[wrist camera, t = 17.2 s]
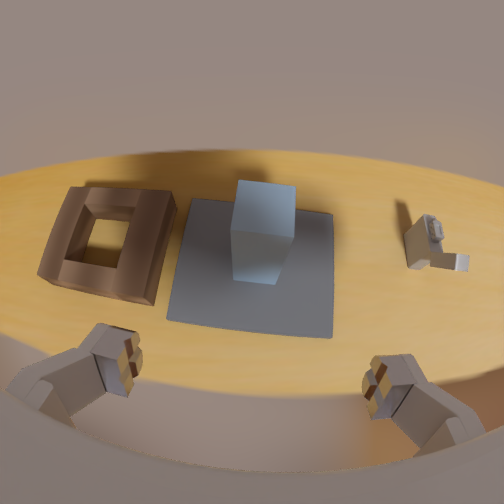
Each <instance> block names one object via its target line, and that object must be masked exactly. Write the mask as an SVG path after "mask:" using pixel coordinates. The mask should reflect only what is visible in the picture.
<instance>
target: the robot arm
mask: <svg viewBox="0 0 504 504" xmlns="http://www.w3.org/2000/svg"><path fill="white" fill-rule="evenodd" d="M139 342H140V337H139V333H137V332H136V331H132V330H128V329H124V328H120V327H116V326H111V325H107V324H104V323H98V324H97V325H96V326H95V327H94V328H93V329H92V331H91V332H90V333H89V334H88V336H87V337H86V338H85V339H84V341H83V342H82V343H81V344H80V346H79V347H78V348H77V349H76V348H72V349H70V350H67V351H65V352H62V353H60V354H57V355H55V356H52V357H50V358H47V359H45V360H42V361H40V362H37V363H35V364H32V365H30V366H27V367H25V368H22V370H21V371H20V372H19V373H18V374H17V376H16V377H15V378H14V379H13V381H12V382H11V383H10V384H9V386H8V387H7V388H6V389H5V390H3V389H2V388H0V504H504V425H503V426H501V427H499V428H496V429H495V430H492V431H490V432H488V433H486V431H485V430H484V427H483V426H482V424H481V422H480V420H479V418H478V417H477V414H476V413H475V411H474V410H473V409H471V408H470V407H468V406H467V405H465V404H464V403H462V402H460V401H459V400H458V399H456V398H455V397H453V396H451V395H450V394H448V393H447V392H445V391H444V390H442V389H441V388H439V387H438V386H436V385H435V384H433V383H432V382H430V383H428V381H427V379H426V377H425V376H424V374H423V372H422V370H421V368H420V367H419V365H418V363H417V361H416V360H415V358H414V356H413V355H411V354H400V355H377V356H374V357H373V358H372V360H371V362H370V365H371V369H370V370H369V371H367V372H366V373H365V375H364V378H363V381H362V392H363V396H364V397H365V398H366V399H367V400H368V401H369V402H368V404H367V408H368V412H369V415H370V418H371V420H375V419H386V418H391V419H392V420H393V422H394V423H396V425H397V426H399V428H400V429H401V430H402V431H403V432H404V433H405V434H406V435H407V436H408V437H409V438H410V439H411V440H412V441H413V442H414V443H415V444H416V445H417V446H418V447H420V450H419V451H418V452H417V453H416V454H415V455H414V456H413V458H409V459H405V460H401V461H396V462H391V463H386V464H380V465H375V466H368V467H361V468H354V469H345V470H334V471H320V472H259V471H245V470H234V469H225V468H216V467H210V466H203V465H197V464H191V463H186V462H181V461H176V460H172V459H167V458H163V457H159V456H155V455H150V454H147V453H143V452H140V451H136V450H133V449H130V448H126V447H123V446H120V445H117V444H114V443H111V442H108V441H106V440H103V439H100V438H98V437H95V436H93V435H90V434H87V433H85V432H82V431H80V430H78V429H77V428H76V426H75V425H74V423H73V421H72V420H71V418H70V416H72V415H74V414H75V413H77V412H78V411H80V410H81V409H83V408H84V407H86V406H87V405H88V404H90V403H92V402H93V401H95V400H96V399H98V398H99V397H101V396H102V395H104V394H105V393H106V392H109V393H113V394H116V395H120V396H123V397H128V396H129V393H130V392H131V390H132V387H133V385H134V382H133V378H135V377H136V376H138V375H139V373H140V371H141V367H142V363H143V355H142V350H141V349H140V348H139V347H138V344H139Z"/></svg>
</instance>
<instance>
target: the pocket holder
mask: <svg viewBox="0 0 504 504" xmlns="http://www.w3.org/2000/svg"><path fill="white" fill-rule="evenodd" d="M176 211H177V207H176V204H175V201H174V198H173V195H172V192H171V191H162V190H146V189H128V188H104V187H70V189H69V191H68V193H67V195H66V197H65V200H64V202H63V204H62V206H61V209H60V211H59V214H58V216H57V218H56V221H55V223H54V226H53V228H52V231H51V234H50V236H49V239H48V242H47V245H46V247H45V250H44V253H43V256H42V259H41V263H40V266H39V269H38V272H37V275H38V276H40V277H41V278H43V279H45V280H46V281H48V282H49V283H51V284H53V285H57V286H60V287H65V288H69V289H73V290H77V291H81V292H86V293H90V294H94V295H99V296H104V297H108V298H113V299H118V300H123V301H128V302H133V303H139V304H144V305H149V306H154V303H155V298H156V293H157V289H158V284H159V279H160V275H161V270H162V266H163V262H164V257H165V253H166V249H167V245H168V241H169V237H170V233H171V229H172V225H173V222H174V218H175V214H176ZM96 219H106V220H117V221H128V222H130V225H129V228H128V231H127V234H126V238H125V241H124V244H123V248H122V251H121V254H120V258H119V261H118V265H117V269H116V268H110V267H104V266H98V265H93V264H87V263H81V261H82V258H83V255H84V252H85V249H86V246H87V243H88V240H89V237H90V234H91V231H92V228H93V225H94V223H95V220H96Z"/></svg>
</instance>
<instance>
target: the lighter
mask: <svg viewBox="0 0 504 504" xmlns="http://www.w3.org/2000/svg"><path fill="white" fill-rule="evenodd" d="M443 239H444V234H443V229H442V225H441V222H439V221H437V219H436V217H435V216H432V215H427V214H424V215H423V216H422V217H421V218H420V219H419V220H418V221H417V222H416V223H415V224H414V225H413V226H412V227H411V228H410V229H409V230H408V231H407V232H406V233H405V234H404V241H405V248H406V256H407V264H408V268H409V269H415V270H420V269H422V268H423V267H424V266H426V265H427V264H429V263H430V266H431V267H437V268H444V269H451V270H458V271H467V272H468V266H469V255H463V254H455V253H443V249H442V243H441V240H443Z"/></svg>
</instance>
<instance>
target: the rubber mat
mask: <svg viewBox="0 0 504 504" xmlns="http://www.w3.org/2000/svg"><path fill="white" fill-rule="evenodd" d="M234 204H235V202H227V201H217V200H207V199H196V198H193V199H192V203H191V207H190V211H189V214H188V218H187V223H186V227H185V231H184V235H183V239H182V244H181V248H180V252H179V257H178V262H177V266H176V271H175V276H174V281H173V285H172V291H171V296H170V301H169V306H168V312H167V317H166V319H167V320H170V321H176V322H182V323H188V324H194V325H201V326H207V327H215V328H222V329H230V330H238V331H246V332H255V333H264V334H275V335H286V336H298V337H312V338H329V339H330V338H332V334H333V309H334V231H333V215H330V214H324V213H317V212H310V211H302V210H295V227H294V239H293V241H292V244H291V246H290V249H289V251H288V254H287V257H286V259H285V262H284V264H283V267H282V269H281V272H280V274H279V277H278V279H277V282H276V284H275V285H272V284H263V283H254V282H246V281H237V280H233V269H232V252H231V233H230V229H231V222H232V216H233V210H234Z"/></svg>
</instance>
